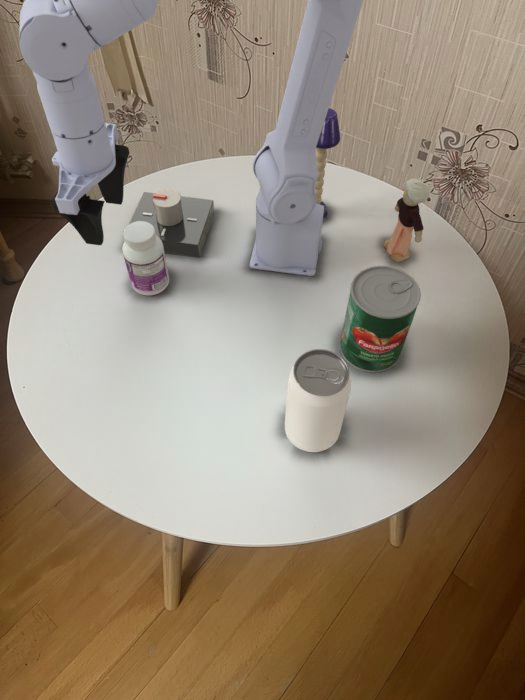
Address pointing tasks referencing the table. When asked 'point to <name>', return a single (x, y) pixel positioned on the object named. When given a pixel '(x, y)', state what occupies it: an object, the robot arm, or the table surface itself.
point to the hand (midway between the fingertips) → (104, 221)
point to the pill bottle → (145, 258)
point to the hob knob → (168, 207)
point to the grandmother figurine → (407, 220)
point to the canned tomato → (378, 318)
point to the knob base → (179, 224)
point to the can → (316, 400)
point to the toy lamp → (326, 140)
